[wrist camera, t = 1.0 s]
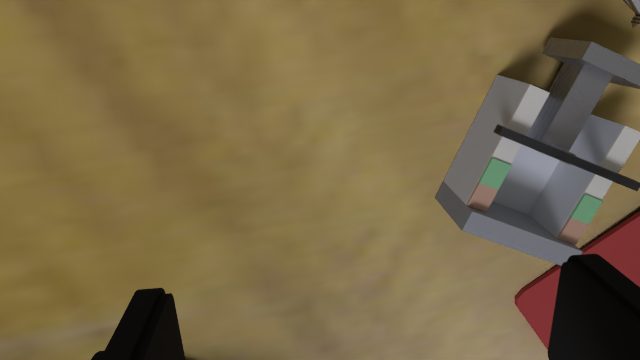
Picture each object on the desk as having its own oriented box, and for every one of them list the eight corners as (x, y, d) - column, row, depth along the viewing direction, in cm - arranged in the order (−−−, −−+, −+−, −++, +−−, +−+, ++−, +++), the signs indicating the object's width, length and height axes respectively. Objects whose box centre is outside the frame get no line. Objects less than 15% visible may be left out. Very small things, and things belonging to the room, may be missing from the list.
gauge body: (497, 74, 36) (539, 87, 30) (597, 118, 38) (655, 137, 32) (434, 197, 40) (461, 230, 34) (530, 232, 41) (571, 269, 35)
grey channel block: (517, 22, 34) (557, 23, 29) (643, 80, 36) (701, 91, 31) (467, 120, 36) (497, 137, 31) (589, 169, 39) (635, 193, 33)
